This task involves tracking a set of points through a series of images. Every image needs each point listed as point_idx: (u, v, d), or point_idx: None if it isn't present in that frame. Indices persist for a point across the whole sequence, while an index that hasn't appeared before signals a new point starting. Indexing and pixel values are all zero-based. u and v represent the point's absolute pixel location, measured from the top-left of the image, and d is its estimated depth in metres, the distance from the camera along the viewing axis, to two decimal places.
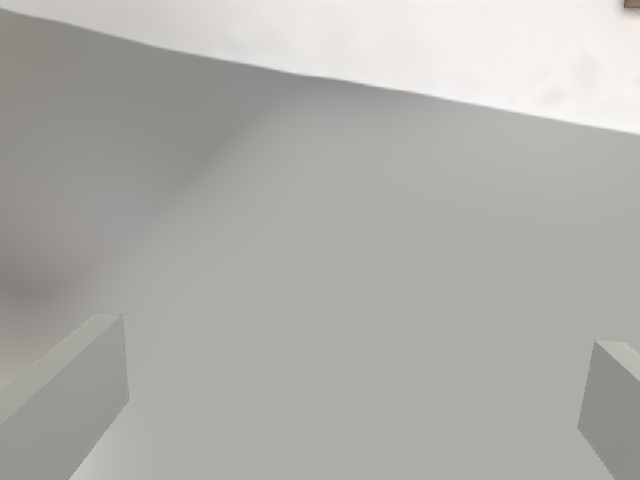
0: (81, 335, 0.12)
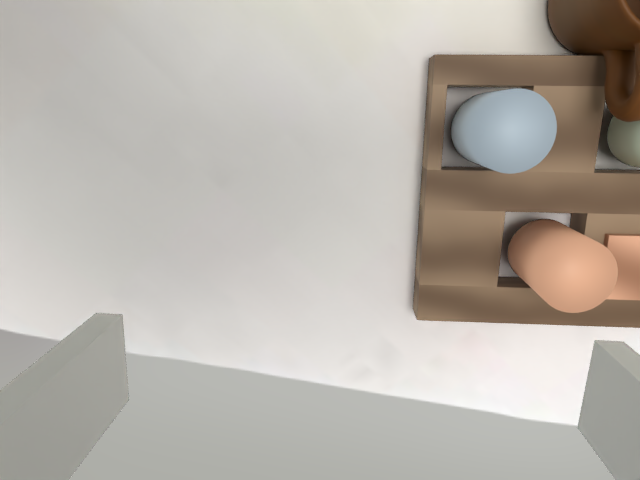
0: (81, 335, 0.12)
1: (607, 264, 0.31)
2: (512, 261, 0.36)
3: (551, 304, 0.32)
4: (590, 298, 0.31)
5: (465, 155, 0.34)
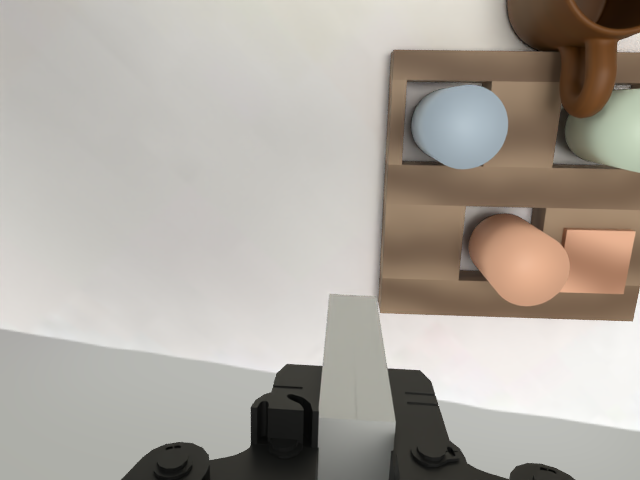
0: (338, 311, 0.14)
1: (559, 258, 0.31)
2: (472, 255, 0.37)
3: (505, 298, 0.32)
4: (543, 292, 0.32)
5: (423, 150, 0.34)
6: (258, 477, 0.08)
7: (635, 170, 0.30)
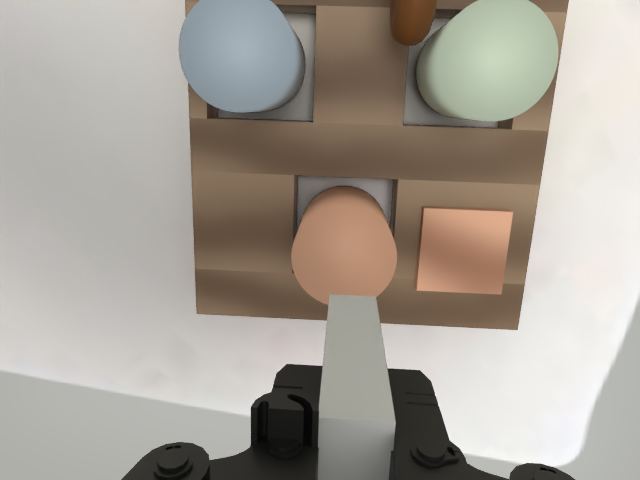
0: (339, 312, 0.14)
1: (382, 242, 0.23)
2: None
3: (313, 295, 0.24)
4: (364, 288, 0.23)
5: None
6: (258, 477, 0.08)
7: (477, 117, 0.21)
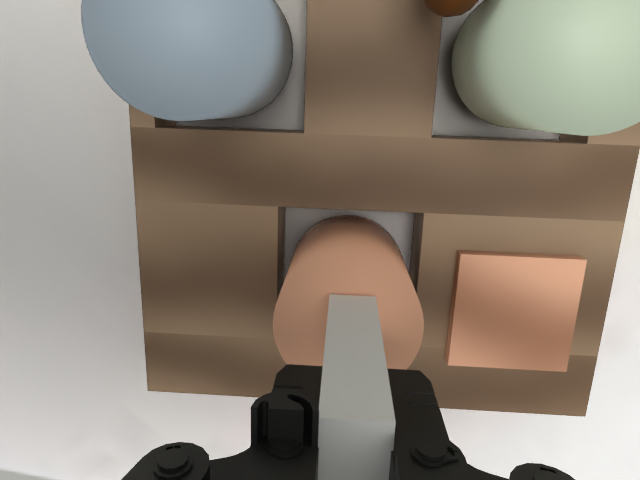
0: (339, 311, 0.14)
1: (402, 305, 0.16)
2: None
3: None
4: None
5: None
6: (258, 477, 0.08)
7: (564, 129, 0.13)
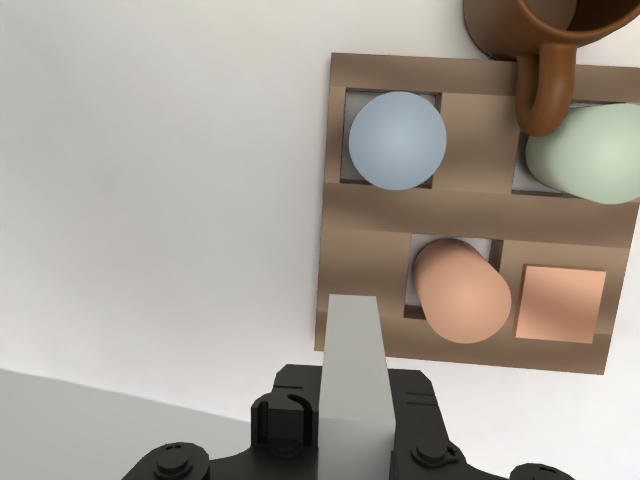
0: (339, 311, 0.14)
1: (499, 291, 0.28)
2: (414, 283, 0.33)
3: (439, 332, 0.29)
4: (481, 328, 0.29)
5: None
6: (258, 477, 0.08)
7: (597, 200, 0.25)
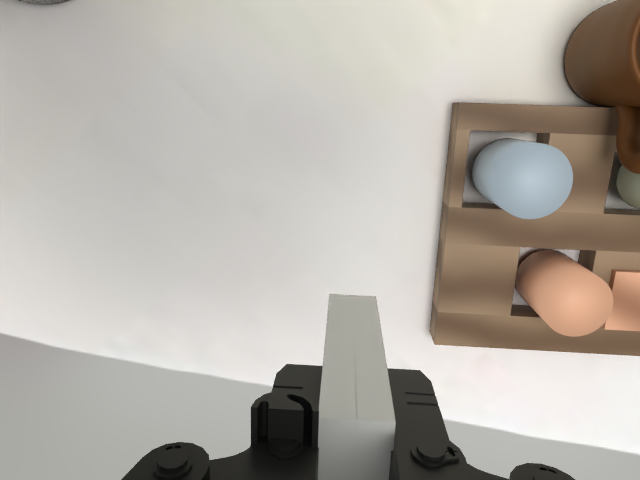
0: (339, 311, 0.14)
1: (604, 295, 0.35)
2: (519, 287, 0.40)
3: (554, 328, 0.36)
4: (588, 324, 0.36)
5: (486, 197, 0.36)
6: (258, 477, 0.08)
7: None
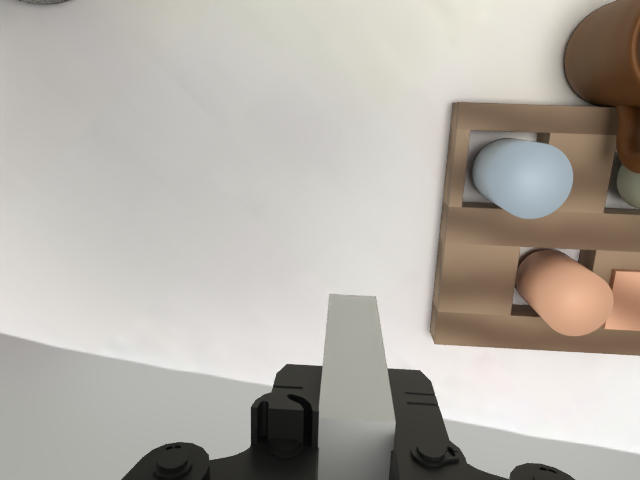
0: (339, 312, 0.14)
1: (604, 294, 0.35)
2: (519, 286, 0.40)
3: (554, 328, 0.36)
4: (588, 323, 0.36)
5: (486, 196, 0.36)
6: (258, 477, 0.08)
7: None
